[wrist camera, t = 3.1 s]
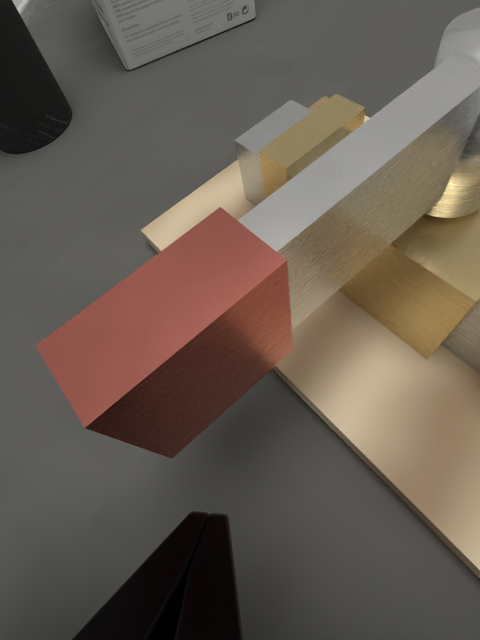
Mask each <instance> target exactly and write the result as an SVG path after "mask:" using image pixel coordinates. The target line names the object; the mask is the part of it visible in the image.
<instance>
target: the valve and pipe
mask: <svg viewBox="0 0 480 640" xmlns="http://www.w3.org/2000/svg"><path fill="white" fill-rule="evenodd" d="M365 110H366V108H365V107H363V106H361V105H359V104H357V103H354V102H352V101H350V100H348V99H346V98H344V97H342V96H340V95H338V94H335V95H334V96H332V97H331V98H330V99H328V100H327V101H326V102H324V103H323V104H321V105H320V106H319V107H317V108H316V109H315V110H313V111H312V110H310V109H308V108H306V107H304V106H302V105H300V104H298V103H296V102H294V101H292V100H290V101H289V102H287V103H286V104H284V105H283V106H282V107H280V108H279V109H277V110H276V111H275V112H273V113H272V114H270V115H269V116H268V117H266V118H265V119H263V120H262V121H261V122H259V123H258V124H256V125H255V126H254V127H252V128H251V129H249V130H248V131H247V132H245V133H244V134H242V135H241V136H240V137H238V138H237V139H235V140H234V141H235V146H236V151H237V156H238V162H239V167H240V172H241V177H242V183H243V188H244V193H245V198H246V199H247V200H248V201H250V202H251V203H252V204H254V205H255V206H257V205H258V204H260V203H261V202H262V201H263V200H265V199H266V198H267V197H269V196H270V195H271V194H273V193H274V192H275V191H276V190H278V189H279V188H280V187H282V186H283V185H284V184H286V183H287V182H288V181H289V180H291V179H292V178H293V177H295V176H296V175H297V174H298V173H300V172H301V171H302V170H304V169H305V168H306V167H308V166H309V165H310V164H311V163H313V162H314V161H315V160H317V159H318V158H319V157H321V156H322V155H323V154H324V153H326V152H327V151H328V150H330V149H331V148H332V147H333V146H335V145H336V144H337V143H339V142H340V141H341V140H343V139H344V138H345V137H346V136H348V135H349V134H350V133H352V132H353V131H354V130H356V129H357V128H358V127H359V126H361V125H362V124H363V123H364V116H365ZM339 291H340V292H341V293H342V294H344V295H345V296H346V297H348V298H349V299H350V300H351V301H353V302H354V303H355V304H356V305H358V306H359V307H360V308H362V309H363V310H364V311H365V312H367V313H368V314H369V315H371V316H372V317H373V318H374V319H376V320H377V321H378V322H379V323H381V324H382V325H383V326H385V327H386V328H387V329H388V330H390V331H391V332H392V333H394V334H395V335H396V336H397V337H399V338H400V339H401V340H402V341H404V342H405V343H406V344H408V345H409V346H410V347H411V348H413V349H414V350H415V351H416V352H418V353H419V354H420V355H422V356H423V357H424V358H425V359H428V358H429V357H430V356H431V355H432V354H433V353H434V352H435V351H436V350H437V349H438V348H439V347H440V346H441V345H442V346H443V347H445V348H446V349H447V350H449V351H450V352H452V353H453V354H454V355H456V356H457V357H458V358H460V359H461V360H462V361H464V362H465V363H466V364H468V365H469V366H470V367H472V368H473V369H474V370H476V371H477V372H478V373H480V208H479V209H478V210H476V211H475V212H473V213H470V214H468V215H465V216H460V217H453V218H443V217H435V216H431V215H427V214H424V215H422V216H421V217H420V218H419V219H418V220H417V221H416V222H415V223H413V224H412V225H411V226H410V227H409V228H408V229H407V230H405V231H404V232H403V233H402V234H401V235H400V236H399V237H398V238H396V239H395V240H394V241H393V242H392V243H391V244H390V245H388V246H387V247H386V248H385V249H384V250H383V251H382V252H381V253H379V254H378V255H377V256H376V257H375V258H374V259H373V260H371V261H370V262H369V263H368V264H367V265H366V266H365V267H364V268H362V269H361V270H360V271H359V272H358V273H357V274H356V275H354V276H353V277H352V278H351V279H350V280H349V281H348V282H347V283H345V284H344V285H343V286H342V287H341V288H340V289H339ZM479 387H480V385H479Z"/></svg>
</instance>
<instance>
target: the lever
mask: <svg viewBox="0 0 480 640" xmlns="http://www.w3.org/2000/svg"><path fill="white" fill-rule="evenodd" d="M479 208H480V7H479V8H476V9H473V10H470V11H468V12H465V13H464V14H462V15H460V16H458V17H457V18H455V19H454V20H453V21H452V22H450V23H449V25H448V26H447V27H446V29H445V31H444V34H443V37H442V40H441V44H440V47H439V51H438V54H437V57H436V61H435V64H434V67H433V70H432V71H431V72H429V73H428V74H427V75H426V76H424V77H423V78H422V79H420V80H419V81H418V82H416V83H415V84H414V85H413V86H411V87H410V88H409V89H407V90H406V91H405V92H403V93H402V94H401V95H400V96H398V97H397V98H396V99H394V100H393V101H392V102H391V103H389V104H388V105H387V106H385V107H384V108H383V109H381V110H380V111H379V112H378V113H376V114H375V115H374V116H372V117H371V118H370V119H368V120H367V121H366V122H365V123H363V124H362V125H361V126H359V127H358V128H357V129H356V130H354V131H353V132H352V133H350V134H349V135H348V136H346V137H345V138H344V139H343V140H341V141H340V142H339V143H337V144H336V145H335V146H333V147H332V148H331V149H330V150H328V151H327V152H326V153H324V154H323V155H322V156H321V157H319V158H318V159H317V160H315V161H314V162H313V163H311V164H310V165H309V166H308V167H306V168H305V169H304V170H302V171H301V172H300V173H298V174H297V175H296V176H295V177H293V178H292V179H291V180H289V181H288V182H287V183H286V184H284V185H283V186H282V187H280V188H279V189H278V190H276V191H275V192H274V193H273V194H271V195H270V196H269V197H267V198H266V199H265V200H263V201H262V202H261V203H260V204H258V205H257V206H256V207H254V208H253V209H252V210H251V211H249V212H248V213H247V214H245V215H244V216H243V217H241V218H240V219H239V220H238V221H237V220H236V219H235V218H234V217H232V216H231V215H230V214H229V213H227V212H226V211H225V210H224V209H222V208H221V207H219V208H218V209H217V210H215V211H214V212H213V213H211V214H210V215H209V216H207V217H206V218H205V219H203V220H202V221H201V222H199V223H198V224H197V225H195V226H194V227H193V228H191V229H190V230H189V231H187V232H186V233H185V234H183V235H182V236H181V237H180V238H178V239H177V240H176V241H174V242H173V243H172V244H170V245H169V246H168V247H166V248H165V249H164V250H162V251H161V252H160V253H158V254H157V255H156V256H154V257H153V258H152V259H150V260H149V261H148V262H146V263H145V264H144V265H142V266H141V267H140V268H138V269H137V270H136V271H134V272H133V273H132V274H130V275H129V276H128V277H126V278H125V279H124V280H122V281H121V282H120V283H118V284H117V285H116V286H114V287H113V288H112V289H110V290H109V291H108V292H106V293H105V294H104V295H102V296H101V297H100V298H98V299H97V300H96V301H94V302H93V303H92V304H91V305H89V306H88V307H87V308H85V309H84V310H83V311H81V312H80V313H79V314H77V315H76V316H75V317H73V318H72V319H71V320H69V321H68V322H67V323H65V324H64V325H63V326H61V327H60V328H59V329H57V330H56V331H55V332H53V333H52V334H51V335H49V336H48V337H47V338H45V339H44V340H43V341H41V342H40V343H39V344H37V345H36V347H37V349H38V351H39V352H40V354H41V356H42V357H43V359H44V361H45V362H46V364H47V366H48V367H49V369H50V371H51V372H52V374H53V376H54V377H55V379H56V381H57V382H58V384H59V386H60V387H61V389H62V391H63V393H64V394H65V396H66V398H67V399H68V401H69V403H70V404H71V406H72V408H73V409H74V411H75V413H76V414H77V416H78V418H79V419H80V421H81V423H82V424H83V426H84V428H86V429H89V430H92V431H95V432H98V433H101V434H103V435H106V436H109V437H112V438H115V439H118V440H121V441H123V442H126V443H129V444H132V445H135V446H138V447H140V448H143V449H146V450H149V451H152V452H155V453H158V454H160V455H163V456H166V457H169V458H173V457H174V456H175V455H177V454H178V453H179V452H180V451H181V450H182V449H183V448H184V447H185V446H187V445H188V444H189V443H190V442H191V441H192V440H193V439H194V438H196V437H197V436H198V435H199V434H200V433H201V432H202V431H203V430H204V429H206V428H207V427H208V426H209V425H210V424H211V423H212V422H213V421H214V420H216V419H217V418H218V417H219V416H220V415H221V414H222V413H223V412H225V411H226V410H227V409H228V408H229V407H230V406H231V405H232V404H233V403H235V402H236V401H237V400H238V399H239V398H240V397H241V396H242V395H243V394H245V393H246V392H247V391H248V390H249V389H250V388H251V387H252V386H254V385H255V384H256V383H257V382H258V381H259V380H260V379H261V378H262V377H264V376H265V375H266V374H267V373H268V372H269V371H270V370H271V369H272V368H274V367H275V366H276V365H277V364H278V363H279V362H280V361H281V360H283V359H284V358H285V357H286V356H287V355H288V354H289V353H290V352H291V351H293V338H292V330H293V329H294V328H295V327H297V326H298V325H299V324H300V323H301V322H302V321H303V320H305V319H306V318H307V317H308V316H309V315H310V314H311V313H312V312H314V311H315V310H316V309H317V308H318V307H319V306H320V305H322V304H323V303H324V302H325V301H326V300H327V299H328V298H329V297H331V296H332V295H333V294H334V293H335V292H336V291H337V290H339V289H340V288H341V287H342V286H343V285H344V284H345V283H347V282H348V281H349V280H350V279H351V278H352V277H353V276H354V275H356V274H357V273H358V272H359V271H360V270H361V269H362V268H364V267H365V266H366V265H367V264H368V263H369V262H370V261H371V260H373V259H374V258H375V257H376V256H377V255H378V254H379V253H381V252H382V251H383V250H384V249H385V248H386V247H387V246H388V245H390V244H391V243H392V242H393V241H394V240H395V239H396V238H398V237H399V236H400V235H401V234H402V233H403V232H404V231H405V230H407V229H408V228H409V227H410V226H411V225H412V224H413V223H415V222H416V221H417V220H418V219H419V218H420V217H421V216H422V215H424V214H427V215H431V216H435V217H443V218H453V217H460V216H465V215H468V214H470V213H473V212H475V211H476V210H478V209H479Z"/></svg>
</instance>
